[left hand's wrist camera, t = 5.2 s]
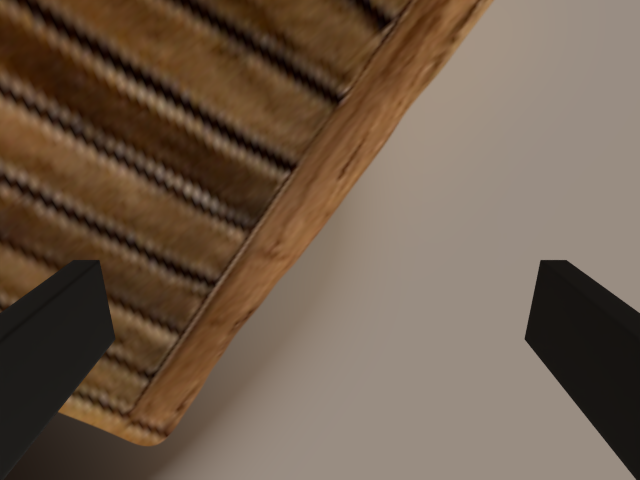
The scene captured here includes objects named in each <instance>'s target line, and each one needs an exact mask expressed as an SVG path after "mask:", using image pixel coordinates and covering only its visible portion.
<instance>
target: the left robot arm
mask: <svg viewBox="0 0 640 480" xmlns="http://www.w3.org/2000/svg"><path fill="white" fill-rule="evenodd" d="M114 340H115V335H114V330H113V325H112V320H111V315H110V310H109V305H108V300H107V295H106V290H105V285H104V281H103V276H102V271H101V266H100V261H99V260H73V261H72V262H70V263H69V264H68V265H66V266H65V267H63V268H62V269H61V270H59V271H58V272H57V273H55V274H54V275H52V276H51V277H50V278H48V279H47V280H46V281H44V282H43V283H41V284H40V285H39V286H37V287H36V288H34V289H33V290H32V291H30V292H29V293H28V294H26V295H25V296H23V297H22V298H21V299H19V300H18V301H17V302H15V303H14V304H12V305H11V306H10V307H8V308H7V309H5V310H4V311H3V312H1V313H0V480H4V479H5V477H6V476H7V475H8V473H9V472H10V471H11V470H12V468H13V467H14V466H15V465H16V464H17V462H18V461H19V460H20V458H21V457H22V456H23V455H24V453H25V452H26V451H27V450H28V448H29V447H30V446H31V445H32V443H33V442H34V441H35V440H36V438H37V437H38V436H39V435H40V433H41V432H42V431H43V430H44V428H45V427H46V426H47V424H48V423H49V422H50V421H51V419H52V418H53V417H54V416H55V414H56V413H57V412H58V411H59V409H60V408H61V407H62V406H63V404H64V403H65V402H66V401H67V399H68V398H69V397H70V396H71V394H72V393H73V392H74V391H75V389H76V388H77V387H78V386H79V384H80V383H81V382H82V380H83V379H84V378H85V377H86V375H87V374H88V373H89V372H90V370H91V369H92V368H93V367H94V365H95V364H96V363H97V362H98V360H99V359H100V358H101V357H102V355H103V354H104V353H105V352H106V350H107V349H108V348H109V347H110V345H111V344H112V343H113V341H114ZM525 340H526V341H527V343H528V344H529V345H530V347H531V348H532V349H533V350H534V352H535V353H536V354H537V355H538V357H539V358H540V359H541V360H542V362H543V363H544V364H545V365H546V367H547V368H548V369H549V370H550V372H551V373H552V374H553V375H554V377H555V378H556V379H557V380H558V382H559V383H560V384H561V386H562V387H563V388H564V389H565V391H566V392H567V393H568V394H569V396H570V397H571V398H572V399H573V401H574V402H575V403H576V404H577V406H578V407H579V408H580V409H581V411H582V412H583V413H584V414H585V416H586V417H587V418H588V419H589V421H590V422H591V423H592V425H593V426H594V427H595V428H596V429H597V431H598V432H599V433H600V435H601V436H602V437H603V438H604V440H605V441H606V442H607V443H608V445H609V446H610V447H611V448H612V450H613V451H614V452H615V453H616V455H617V456H618V457H619V458H620V460H621V461H622V462H623V463H624V465H625V466H626V467H627V469H628V470H629V471H630V472H631V473H632V475H633V476H634V477H635V478H636V480H640V313H639V312H637V311H636V310H635V309H633V308H632V307H630V306H629V305H628V304H626V303H625V302H623V301H622V300H621V299H619V298H618V297H617V296H615V295H614V294H612V293H611V292H610V291H608V290H607V289H606V288H604V287H603V286H601V285H600V284H599V283H597V282H596V281H594V280H593V279H592V278H590V277H589V276H588V275H586V274H585V273H583V272H582V271H580V270H579V269H578V268H577V267H575V266H574V265H572V264H571V263H570V262H568V261H567V260H541V261H540V266H539V271H538V276H537V281H536V285H535V290H534V295H533V300H532V305H531V310H530V315H529V320H528V325H527V330H526V335H525Z"/></svg>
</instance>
